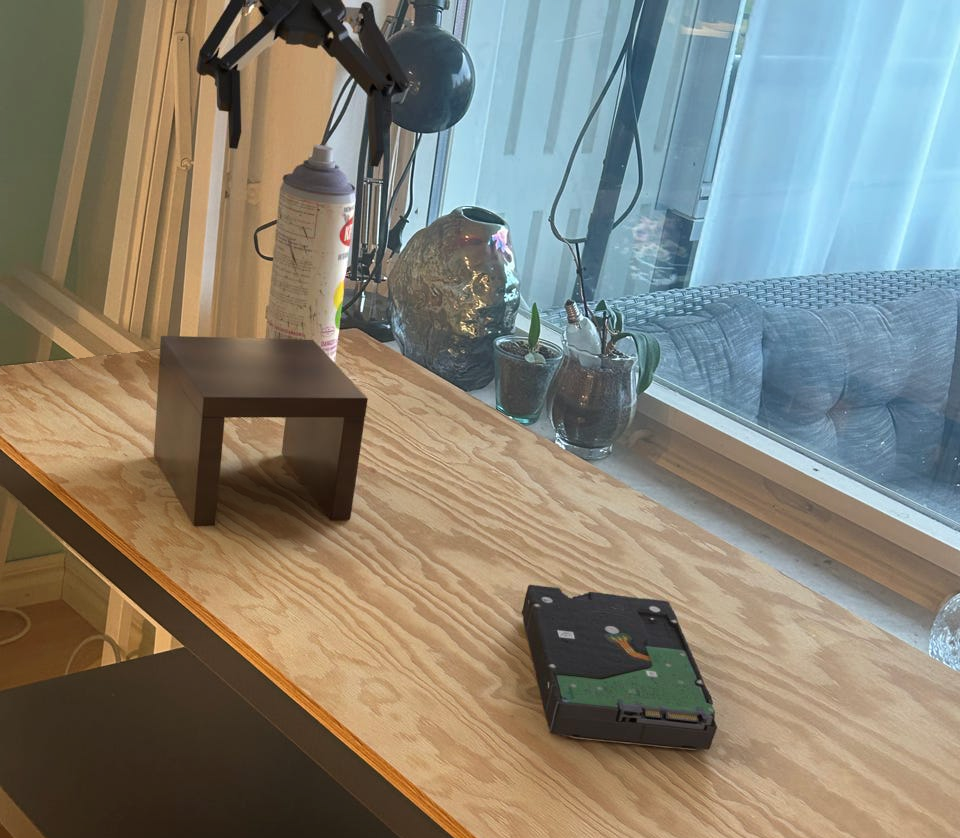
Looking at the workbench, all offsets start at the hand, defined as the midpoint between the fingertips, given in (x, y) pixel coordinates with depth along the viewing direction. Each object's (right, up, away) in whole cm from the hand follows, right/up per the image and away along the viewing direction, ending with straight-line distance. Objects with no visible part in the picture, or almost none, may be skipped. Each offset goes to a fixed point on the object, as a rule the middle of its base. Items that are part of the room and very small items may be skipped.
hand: (307, 150), depth 126 cm
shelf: (-1, -35, -24) cm, 42 cm away
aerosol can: (-1, -20, +2) cm, 20 cm away
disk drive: (+25, -49, -39) cm, 68 cm away
